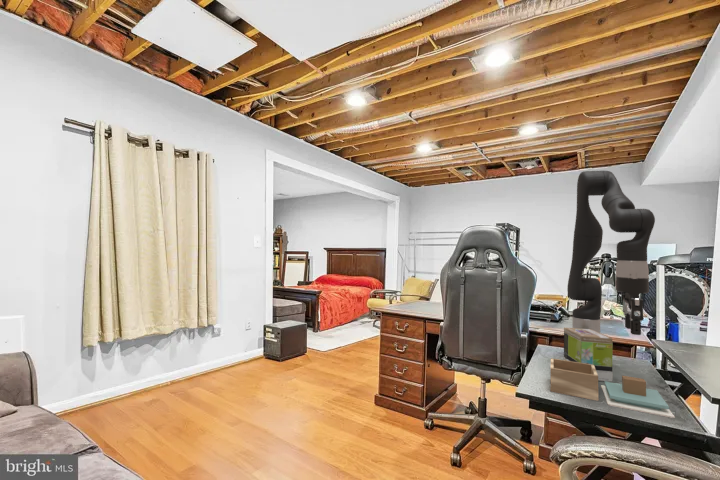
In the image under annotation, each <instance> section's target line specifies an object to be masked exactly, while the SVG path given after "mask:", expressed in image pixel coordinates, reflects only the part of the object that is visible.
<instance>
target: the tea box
mask: <svg viewBox="0 0 720 480" xmlns="http://www.w3.org/2000/svg"><path fill="white" fill-rule="evenodd" d="M613 354H614V353H613V338H612V337H611V336H608V335H605V334H604V333H601V332H600V333H599V332H597V331H594V330H592V329H580V328H573V327H564V328H563V360H566V361H572V362H579V363H586V364H592V365H594V366H595V369H596V372H597V374H598V382H599V381H600V382H605V381H606V382H612V383H613V381H614V380H613V378H614V375H613V374H614V372H613V367H614V366H613Z"/></svg>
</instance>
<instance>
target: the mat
mask: <svg viewBox="0 0 720 480" xmlns="http://www.w3.org/2000/svg"><path fill="white" fill-rule="evenodd" d="M600 387H601V390H602V392H603V395H604V398H605V401H606V403H607V406H610V407H615V408H620V409H625V410H631V411H635V412H641V413H645V414H650V415H655V416H659V417H660V416H661V417H666V418H671V419H675V418H676V417H675V415H674V414H673V413H672V411H671V410H670V408H669V409H664V408H661V410H658V409H653V408H648V407H643V406H638V405H633V404H627V403H622V402H617V401H615V399H611V398H610V397H609V394H608V392H607V389H606V386H605V384H601V385H600Z"/></svg>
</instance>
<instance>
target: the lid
mask: <svg viewBox="0 0 720 480" xmlns="http://www.w3.org/2000/svg"><path fill="white" fill-rule="evenodd" d="M604 385H605V386H606V389H607V392H608V394H609V397H610V398H611V399H615V401H617V402H622V403H627V404H633V405H638V406H643V407H648V408H653V409H658V410H661V408H664V409H669V410H670V406H669V405H668V403H667V402H666V401H665V399H664V398H663V396H662V395H661V394H660V392H659V391H658V390H657V389H652V388H647V381H646V380H645V379H644V378H639V377H635V376H634V377H633V376H627V375H621V383H617V382H613V381H612V382H610V381H604Z"/></svg>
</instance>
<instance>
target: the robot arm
mask: <svg viewBox="0 0 720 480" xmlns="http://www.w3.org/2000/svg"><path fill="white" fill-rule="evenodd" d="M576 184H577V185H576V215H575V222H574V223H575V224H574V230H573V242H572V256H571V265H570V270H569V276H568V279H567V280H568V281H567V295H568V297H569V299H570V300H572V301H580V302H581V301H582V302H586V303H585V304H584V305H582V306H581V307H577V308H574V309H573V310H572V313H571V314H572V320H571V321H572V322H571V323H572V328H580V329H592V330H594V331H597V332H599V333H601V313H602V297H603V289H602V283H601V281H600V280H599V279H597V278H596V277H582V276H583V273H584V270H585V269H586V267H587V265H588V264H589V263H590V262H591V261H592V260H593V258H595V257H596V255H597V254H598V253H599V251H600V250H601V248H602V245H603V244H602V242H603V237H604V230H603V227H602V225H601V224H600V222H599V220H598V219H597V218H596V216H595V214H594V213H593V211H592V208H591V205H590V200H589V198H590V197H591V196H592V197H593V196H602V198H601V206H602V209H603V210H604V211H605V213H607V215H608V225H609V228H610V229H611V230H612V231H614V232H616V233H620V234H621V233H622V234H625V233H632V234H633V233H635V235H634V237H632V238H631V239H628V240H627V239H626V240H622V241H619V242H617V244H616V265H615V290H616V292H618V293H619V292H620V293H622V312H623V315H624V328H625V329H627V330H630V334H631V335H634V336H641V335H642V321H644V299H643V298H640V294H649V292H650V282H649V281H650V277H649V276H650V271H649V264H648V245H649V241H650V238H651V234H652V231H653V229H654V227H655V221H656V218H655V215H654V213H653V212H652V211H651V210H650V209H648V208H636V207H635V204H634V202H633V201H631V199H629V197H628V196H626V194H625V193H624V192H623V190H622V188H621V186H620V183H619V182H618V179H617V177H616V176H615V174H614V173H613V172H612V171H610V170H585V171H581V172H580V174H579V175H578V177H577V182H576ZM589 196H590V197H589Z"/></svg>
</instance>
